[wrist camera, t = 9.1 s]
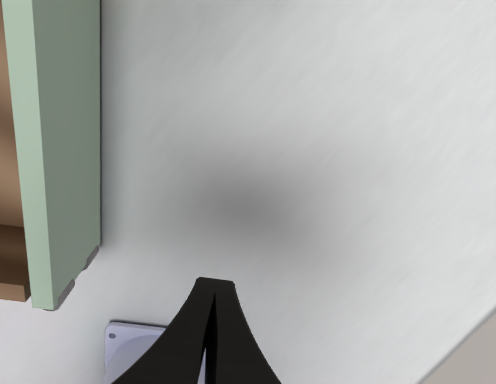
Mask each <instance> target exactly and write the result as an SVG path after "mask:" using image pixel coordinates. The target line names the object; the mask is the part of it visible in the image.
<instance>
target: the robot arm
mask: <svg viewBox="0 0 496 384" xmlns="http://www.w3.org/2000/svg"><path fill="white" fill-rule="evenodd" d="M112 333H113V334H112ZM101 384H282V383H281V382H280V381H279V379H278V378H277V376H276V375H275V373H274V372H273V370H272V369H271V367H270V366H269V364H268V362H267V361H266V359H265V357H264V356H263V354H262V352H261V350H260V349H259V347H258V345H257V343H256V341H255V339H254V337H253V335H252V333H251V330H250V328H249V326H248V324H247V321H246V319H245V316H244V314H243V311H242V309H241V306H240V303H239V300H238V296H237V293H236V289H235V284H234V283H233V281H228V280H220V279H212V278H205V277H199V278H197V279H196V282H195V285H194V287H193V289H192V291H191V293H190V295H189V296H188V298H187V300H186V301H185V303H184V304H183V306H182V307H181V309H180V311H179V312H178V314H177V315H176V316H175V318H174V319H173V320H172V322H171V323H170V324H169V325H168V327H167V328H161V327H153V326H144V325H136V324H127V323H119V322H110V323H108V325H107V327H106V329H105V374H104V377H103V379H102V381H101Z"/></svg>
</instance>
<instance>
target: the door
mask: <svg viewBox="0 0 496 384" xmlns="http://www.w3.org/2000/svg"><path fill="white" fill-rule="evenodd" d="M2 10H3V20H4V30H5V39H6V49H7V59H8V69H9V79H10V89H11V99H12V109H13V119H14V129H15V139H16V149H17V159H18V169H19V179H20V189H21V199H22V209H23V219H24V229H25V239H26V249H27V259H28V269H29V279H30V289H31V299H32V308H40V309H44V310H46V311H55V310H57V309H59V307H60V306H61V304H62V303H63V302H64V300H65V299H66V297H67V296H68V295H69V293H70V292H71V290H72V289H73V287H74V286H75V279H76V278H77V277H78V275H79V274H80V272H81V271H83V270H85V269H87V267H88V266H89V265H90V263H91V262H92V260H93V259H94V257H95V256H96V255H97V253H98V251H99V246H100V0H2Z"/></svg>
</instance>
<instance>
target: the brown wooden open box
mask: <svg viewBox="0 0 496 384" xmlns="http://www.w3.org/2000/svg"><path fill="white" fill-rule="evenodd" d="M30 296H31V289H30V279H29V269H28V259H27V249H26V239H25V229H24V219H23V209H22V199H21V189H20V179H19V169H18V159H17V149H16V139H15V129H14V119H13V109H12V99H11V89H10V79H9V69H8V59H7V49H6V39H5V30H4V20H3V10H2V0H0V299H3V300H12V301H20V302H26V301H27V300H28V298H29V297H30Z"/></svg>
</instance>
